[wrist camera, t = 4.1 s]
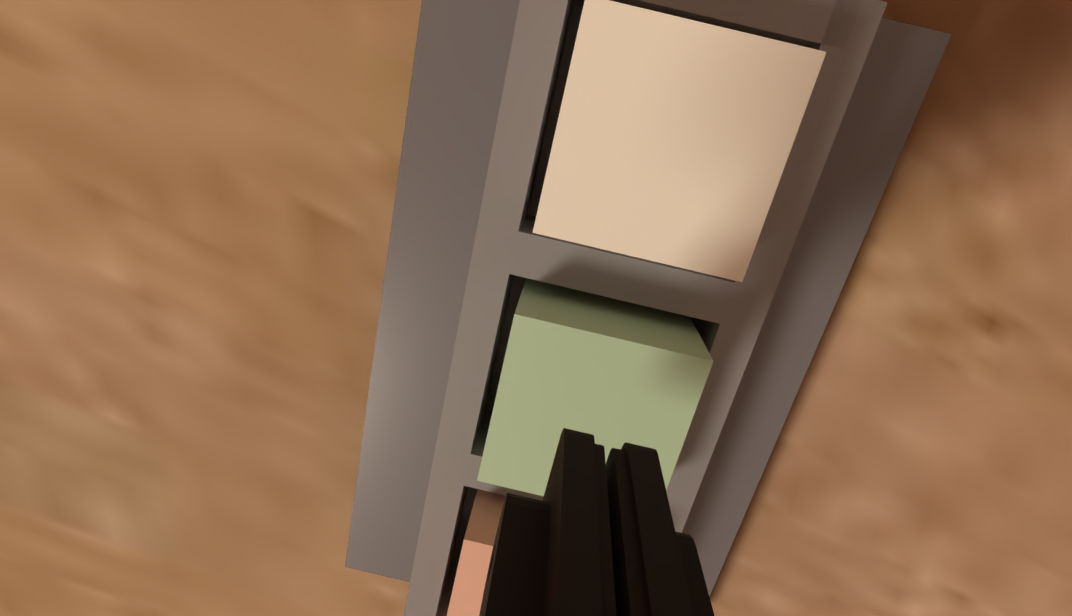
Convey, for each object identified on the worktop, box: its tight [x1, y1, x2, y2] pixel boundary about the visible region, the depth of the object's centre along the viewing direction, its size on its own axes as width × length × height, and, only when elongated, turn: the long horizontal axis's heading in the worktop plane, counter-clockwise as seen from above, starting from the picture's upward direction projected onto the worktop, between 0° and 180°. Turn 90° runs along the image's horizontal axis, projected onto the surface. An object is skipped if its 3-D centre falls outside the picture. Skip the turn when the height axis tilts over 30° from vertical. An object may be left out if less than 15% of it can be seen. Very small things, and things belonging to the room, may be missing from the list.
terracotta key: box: [447, 489, 506, 616], centre depth 17 cm, size 5×5×3 cm
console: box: [345, 0, 952, 616], centre depth 17 cm, size 13×21×4 cm, turn 167°
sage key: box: [477, 278, 713, 496], centre depth 15 cm, size 5×5×3 cm
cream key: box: [533, 0, 826, 282], centre depth 13 cm, size 5×5×3 cm
